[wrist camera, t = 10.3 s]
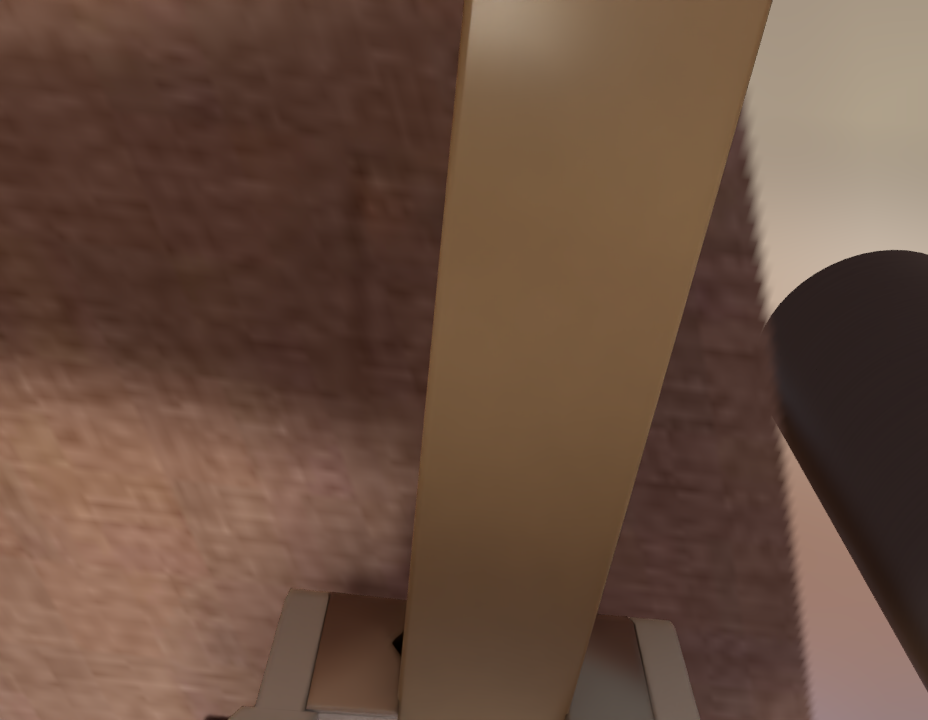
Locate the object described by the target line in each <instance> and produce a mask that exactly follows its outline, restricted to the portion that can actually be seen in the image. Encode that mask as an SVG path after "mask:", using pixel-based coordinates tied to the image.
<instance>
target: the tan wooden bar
mask: <svg viewBox="0 0 928 720" xmlns="http://www.w3.org/2000/svg"><path fill="white" fill-rule="evenodd" d="M771 4H772V0H464V6H463V16H462V27H461V37H460V48H459V58H458V69H457V79H456V90H455V100H454V111H453V121H452V132H451V142H450V153H449V163H448V174H447V184H446V194H445V205H444V215H443V226H442V236H441V247H440V257H439V268H438V278H437V289H436V299H435V310H434V320H433V331H432V341H431V352H430V362H429V373H428V383H427V394H426V404H425V415H424V425H423V436H422V446H421V457H420V467H419V478H418V488H417V499H416V509H415V520H414V530H413V541H412V551H411V561H410V572H409V582H408V593H407V603H406V614H405V624H404V635H403V645H402V656H401V666H400V677H399V687H398V699H399V714H398V720H564V719H565V715H566V714H568V712H569V709H570V706H571V702H572V699H573V695H574V692H575V689H576V685H577V682H578V678H579V675H580V671H581V668H582V664H583V661H584V657H585V654H586V650H587V647H588V643H589V640H590V636H591V633H592V629H593V626H594V622H595V619H596V615H597V612H598V608H599V605H600V601H601V598H602V594H603V591H604V587H605V584H606V580H607V577H608V573H609V570H610V566H611V563H612V559H613V556H614V552H615V549H616V545H617V542H618V538H619V535H620V531H621V528H622V524H623V521H624V517H625V514H626V510H627V507H628V503H629V500H630V496H631V493H632V489H633V486H634V482H635V479H636V475H637V472H638V469H639V465H640V462H641V458H642V455H643V451H644V448H645V444H646V441H647V437H648V434H649V430H650V427H651V423H652V420H653V416H654V413H655V409H656V406H657V402H658V399H659V395H660V392H661V388H662V385H663V381H664V378H665V374H666V371H667V367H668V364H669V360H670V357H671V353H672V350H673V346H674V343H675V339H676V336H677V332H678V329H679V325H680V322H681V318H682V315H683V311H684V308H685V304H686V301H687V297H688V294H689V290H690V287H691V283H692V280H693V276H694V273H695V269H696V266H697V262H698V259H699V255H700V252H701V249H702V245H703V242H704V238H705V235H706V231H707V228H708V224H709V221H710V217H711V214H712V210H713V207H714V203H715V200H716V196H717V193H718V189H719V186H720V182H721V179H722V175H723V172H724V168H725V165H726V161H727V158H728V154H729V151H730V147H731V144H732V140H733V137H734V133H735V130H736V126H737V123H738V119H739V116H740V112H741V109H742V105H743V102H744V98H745V95H746V91H747V88H748V84H749V81H750V77H751V74H752V70H753V67H754V63H755V60H756V56H757V53H758V49H759V46H760V42H761V39H762V35H763V32H764V28H765V25H766V22H767V18H768V15H769V11H770V7H771Z"/></svg>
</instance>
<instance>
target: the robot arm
mask: <svg viewBox="0 0 928 720" xmlns="http://www.w3.org/2000/svg"><path fill="white" fill-rule="evenodd" d="M406 603H407V600H402V599H393V598H384V597H375V596H366V595H356V594H347V593H338V592H326V591H316V590H306V589H296V588H291V589H290V591H289V593H288V595H287V596H286V598H285V601H284V604H283V608H282V611H281V615H280V618H279V622H278V626H277V629H276V633H275V636H274V640H273V643H272V647H271V651H270V654H269V658H268V661H267V665H266V668H265V672H264V675H263V679H262V683H261V686H260V690H259V693H258V697H257V700H256V704H255V707H251V706H242V707H241V708H240V709H238V710H237V711H236V712H235V713H234V714H233V715H232V716H231V717H230V718H229V719H228V720H398V714H399V699H398V687H399V677H400V666H401V656H402V645H403V635H404V624H405V614H406ZM564 720H700V717H699V713H698V709H697V706H696V702H695V698H694V695H693V691H692V688H691V684H690V680H689V677H688V673H687V669H686V666H685V662H684V658H683V655H682V651H681V648H680V644H679V640H678V637H677V633H676V629H675V627H674V626H673V624H672V623H671V622H670V620H658V619H646V618H634V617H630V618H628V617H627V616H615V615H601V614H597V615H596V619H595V622H594V626H593V629H592V633H591V636H590V640H589V643H588V647H587V650H586V654H585V657H584V661H583V664H582V668H581V671H580V675H579V678H578V682H577V685H576V689H575V692H574V695H573V699H572V702H571V706H570V709H569V712H568V714H566V715H565V719H564Z"/></svg>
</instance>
